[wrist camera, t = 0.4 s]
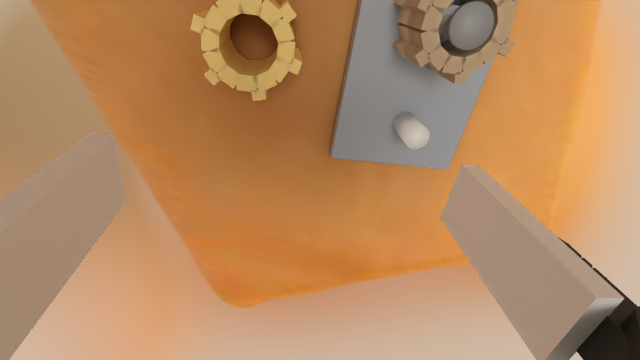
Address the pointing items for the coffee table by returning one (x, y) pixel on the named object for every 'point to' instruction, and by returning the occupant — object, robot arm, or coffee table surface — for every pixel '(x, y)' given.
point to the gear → (443, 58)
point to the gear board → (406, 90)
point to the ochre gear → (233, 64)
